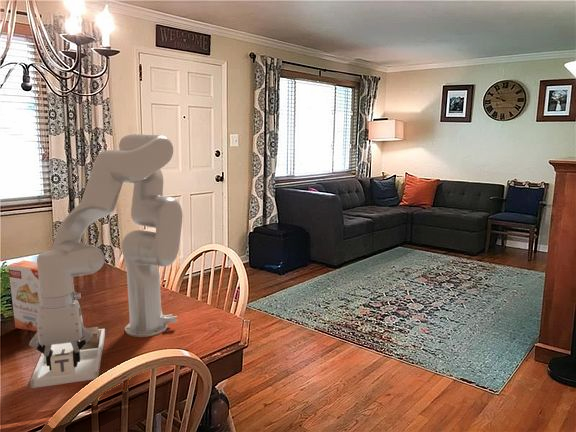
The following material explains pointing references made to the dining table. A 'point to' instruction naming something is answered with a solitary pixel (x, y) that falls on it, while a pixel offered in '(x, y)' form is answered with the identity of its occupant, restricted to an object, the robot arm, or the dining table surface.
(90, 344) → the walnut block
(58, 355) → the letter cube
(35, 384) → the organizer
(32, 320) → the cracker box
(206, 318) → the dining table surface
